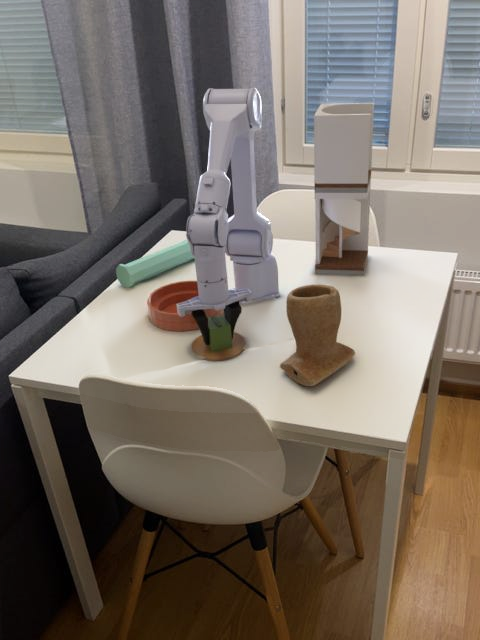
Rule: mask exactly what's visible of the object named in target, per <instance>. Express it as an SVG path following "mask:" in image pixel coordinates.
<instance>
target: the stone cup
mask: <svg viewBox="0 0 480 640" xmlns="http://www.w3.org/2000/svg"><path fill="white" fill-rule="evenodd" d="M285 303H286V309H285V310H286V317H287V320H288V322H289V325H290V329H291V332H292V335H293V337H294V341H295V352H294V353H292V354H291V355H290V356H289V357H288V358H286V359H285V360H284V361H282V362H281V363H280V364H279V367H280V368H281V370H282V371H283V372H285V374H286V375H287V376H288V377H289V378H290V379H291V380H293V381H294V382H296V383H298V384H300V385H302V386H305V387H313V386H316V385H318V384H319V383H321V382H322V381H323V380H325V379H327V378H328V377H329V376H331V375H333V374H334V373H335V372H337V371H338V370H340V369H341V368H342V367H344V366H345V365H346V364H348V362H349V361H351V360H352V359H353V358H354V356H355V355H356V351H355V350H354V349H353V348H351V347H350V346H348V345H345V344H344V343H341V342H338V341H337V339H338V333H339V328H340V326H341V321H342V300H341V295H340V291H339V290H338V289H337V288H336V287H334V286H332V285H326V284H307V285H303V286H302V285H301V286H298V287H296V288H294V289H292V290H291V291H290V292H288V294H287V297H286V302H285Z"/></svg>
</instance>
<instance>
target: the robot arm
mask: <svg viewBox="0 0 480 640" xmlns="http://www.w3.org/2000/svg"><path fill="white" fill-rule="evenodd" d="M203 95H204V96H203V100H202V111H203V112H202V113H203V117H204V119H205V124H206V127H207V129H208V130H209V131H210V132H209V144H208V156H207V166H206V167H207V169H206V171H205V172H204V173H202V174H201V175H200V176H199V181H198V186H197V193H196V199H195V204H194V211H193V214H190V215H189V216H188V218H187V221H186V226H185V229H186V230H185V231H186V232H185V237H186V240H187V241H188V243H189V245H190V248H191V253H192V255H194V258H195V259H194V267H195V274H196V275H195V276H196V281H197V284H198V293H199V296H197V297H195V298H192V299H190V300H187V301H185V302H182V303H178V304H176V305H177V312H178V314H179V316H180V317H183V316H185V314H189V313H191V314H192V316H193V318H194V319H195V321H196V323H197V325H198V327H199V329H198V330H199V331H200V333H201V335H202V337H203V341H204V343H205V344H206V345H210V340H209V334H208V318H207V316H206V314H205V312H204V310H207V309H215V310H221V309H224V314H223V316H224V317H225V318H226V320H227V321H228V322H229V324H230V325H231V336H232V339H233V334H234V333H235V328H236V325H237V322H238V320H239V317H240V315H242V312H243V308H242V306H241V304H245V303H250V302H255V301H260V300H265V299H270V298H272V297H274V298H279V297H281V294H280V291H279V290H280V289H279V268H278V262H277V259H276V257H275V255H274V254H273V253H272V252H273V246H274V236H273V232H272V225H271V221H270V219H268V218H267V217H266V216H265V215H262V214H261V213H260V212H258V206H257V205H258V204H257V185H256V184H257V183H256V181H257V180H256V165H255V163H256V161H255V140H254V139H255V133H256V132H257V131H260V130H261V129H262V125H263V123H262V122H263V117H262V116H263V114H262V98H261V95H260V93H259V91H258V89H257V88H256V87H250V88H211V87H210V88H207V90H206V92H205V93H204V94H203ZM229 166H230V167H231V168H230V169H231V180H232V181H231V180H230V178H229V176H227V173H228V170H229ZM231 185H232V197H233V199H232V201H233V214H232V215H231V216H230V217H229V214H228V211H227V210H228V209H227V208H228V204H229V198H230V193H231ZM226 256H227V257H229V260H230V261H231V262H232V266H233V267H232V268H233V279H234V280H233V281H234V288H230V289H229V282H228V271H227V260H226V258H227V257H226Z"/></svg>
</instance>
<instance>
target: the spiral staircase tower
mask: <svg viewBox="0 0 480 640" xmlns="http://www.w3.org/2000/svg"><path fill="white" fill-rule="evenodd" d="M374 110H375V102H347V103H346V102H345V103H344V102H343V103H342V102H341V103H320V105H319V107H318V108H317V110H316V111H315V113H314V114H313V139H314V140H313V147H314V149H313V151H314V152H313V154H314V156H313V160H314V161H313V162H314V163H313V164H314V165H313V170H314V174H313V175H314V178H313V179H314V180H313V181H314V182H313V183H314V200H315V201H314V205H315V206H314V207H315V212H314V213H315V217H314V218H315V219H314V220H315V221H314V222H315V264H314V275H334V276H360V277H361V276H365V273H366V267H367V262H368V258H369V238H370V237H369V236H370V214H371V211H370V208H371V187H372V186H371V185H372V165H373V164H372V162H373V138H374V118H375V117H374V115H375V111H374Z"/></svg>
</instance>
